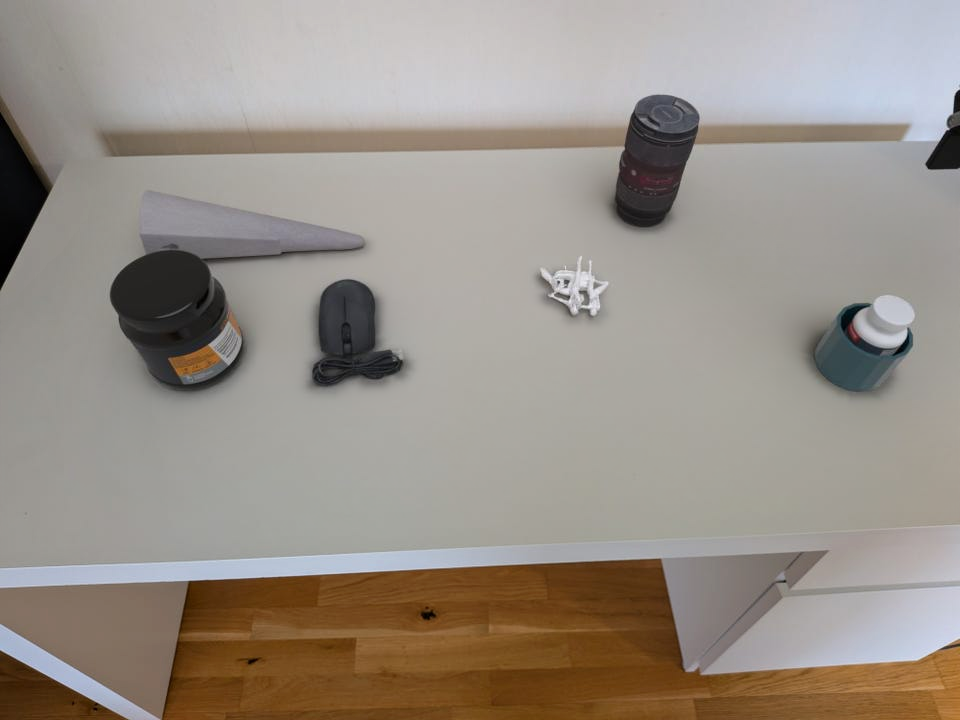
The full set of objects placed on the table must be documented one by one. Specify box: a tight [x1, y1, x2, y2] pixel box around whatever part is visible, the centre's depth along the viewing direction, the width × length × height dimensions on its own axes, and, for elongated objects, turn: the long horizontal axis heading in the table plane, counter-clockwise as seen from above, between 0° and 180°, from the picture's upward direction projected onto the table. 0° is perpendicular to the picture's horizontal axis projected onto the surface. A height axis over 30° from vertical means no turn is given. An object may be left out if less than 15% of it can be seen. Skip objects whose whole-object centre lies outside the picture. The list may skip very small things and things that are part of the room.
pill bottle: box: [844, 294, 916, 356], centre depth 72 cm, size 5×5×9 cm
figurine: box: [539, 255, 610, 317], centre depth 81 cm, size 3×8×8 cm
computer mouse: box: [311, 278, 405, 387], centre depth 77 cm, size 10×15×4 cm
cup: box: [814, 302, 914, 393], centre depth 74 cm, size 8×8×6 cm
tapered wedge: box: [139, 189, 365, 260], centre depth 86 cm, size 8×9×26 cm
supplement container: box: [109, 250, 245, 391], centre depth 71 cm, size 10×10×12 cm
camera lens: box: [614, 93, 701, 228], centre depth 85 cm, size 8×8×15 cm
